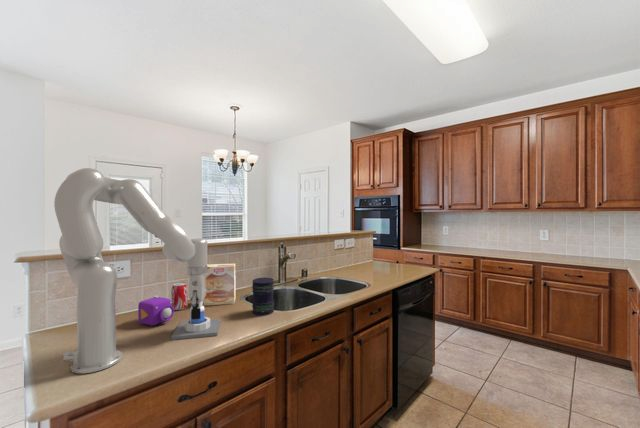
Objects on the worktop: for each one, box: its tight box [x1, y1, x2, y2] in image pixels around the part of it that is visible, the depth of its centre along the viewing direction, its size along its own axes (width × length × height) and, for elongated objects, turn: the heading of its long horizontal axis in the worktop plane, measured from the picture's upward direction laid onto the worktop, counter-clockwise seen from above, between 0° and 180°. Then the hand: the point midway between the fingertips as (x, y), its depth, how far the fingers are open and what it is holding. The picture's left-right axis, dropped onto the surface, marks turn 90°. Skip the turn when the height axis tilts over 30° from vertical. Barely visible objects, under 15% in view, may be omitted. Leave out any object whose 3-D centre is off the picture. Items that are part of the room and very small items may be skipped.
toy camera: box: [137, 295, 175, 327], centre depth 123 cm, size 11×14×10 cm
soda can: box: [170, 281, 189, 311], centre depth 140 cm, size 7×7×12 cm
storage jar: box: [251, 277, 275, 317], centre depth 135 cm, size 10×10×15 cm
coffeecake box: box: [203, 263, 237, 307], centre depth 149 cm, size 15×7×20 cm, turn 102°
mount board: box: [170, 316, 222, 341], centre depth 115 cm, size 16×14×4 cm
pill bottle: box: [189, 300, 206, 324], centre depth 114 cm, size 6×5×10 cm
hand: (197, 315), depth 114 cm, fingers open, 5 cm apart
